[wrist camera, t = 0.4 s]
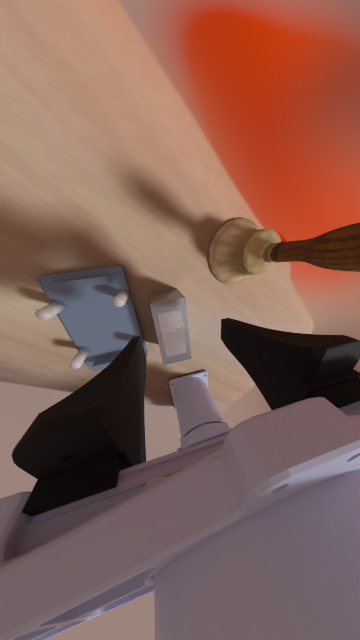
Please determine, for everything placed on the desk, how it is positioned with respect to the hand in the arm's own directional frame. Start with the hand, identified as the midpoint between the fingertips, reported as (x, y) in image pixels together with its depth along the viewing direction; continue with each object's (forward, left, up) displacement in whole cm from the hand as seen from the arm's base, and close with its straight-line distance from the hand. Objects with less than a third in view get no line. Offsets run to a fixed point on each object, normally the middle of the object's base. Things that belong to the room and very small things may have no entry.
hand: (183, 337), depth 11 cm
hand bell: (+6, -10, -10) cm, 15 cm away
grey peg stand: (-1, +10, -9) cm, 13 cm away
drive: (-2, +1, -10) cm, 10 cm away
